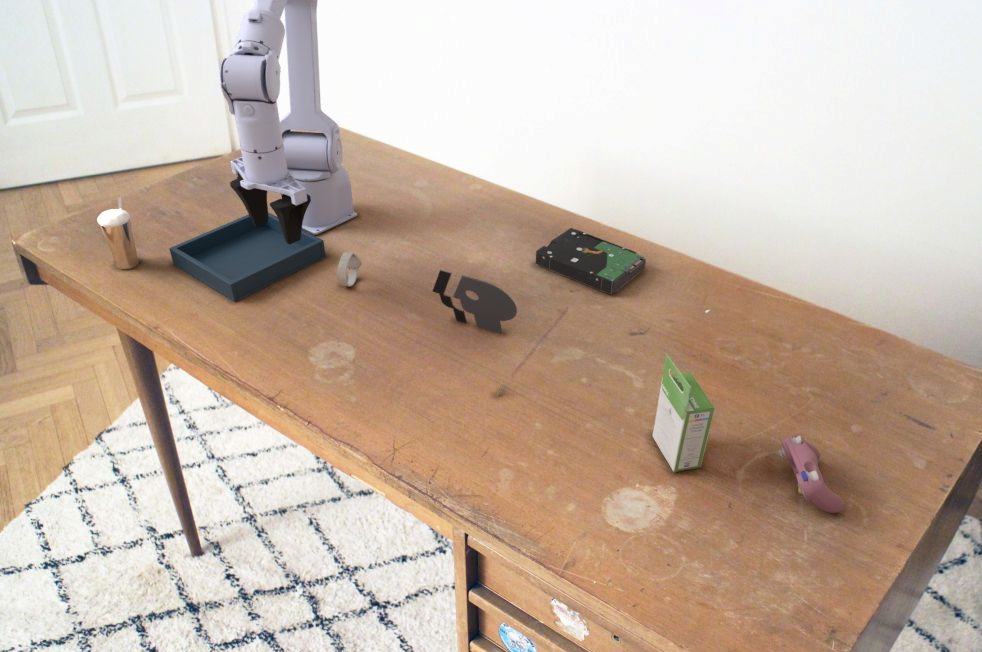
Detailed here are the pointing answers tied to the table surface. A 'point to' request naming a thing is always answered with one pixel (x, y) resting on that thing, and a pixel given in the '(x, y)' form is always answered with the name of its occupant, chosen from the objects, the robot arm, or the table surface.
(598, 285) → the disk drive
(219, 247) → the tray
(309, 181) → the robot arm
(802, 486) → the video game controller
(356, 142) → the table surface
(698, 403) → the ink box
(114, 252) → the milkshake
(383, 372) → the table surface
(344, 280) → the wristwatch
